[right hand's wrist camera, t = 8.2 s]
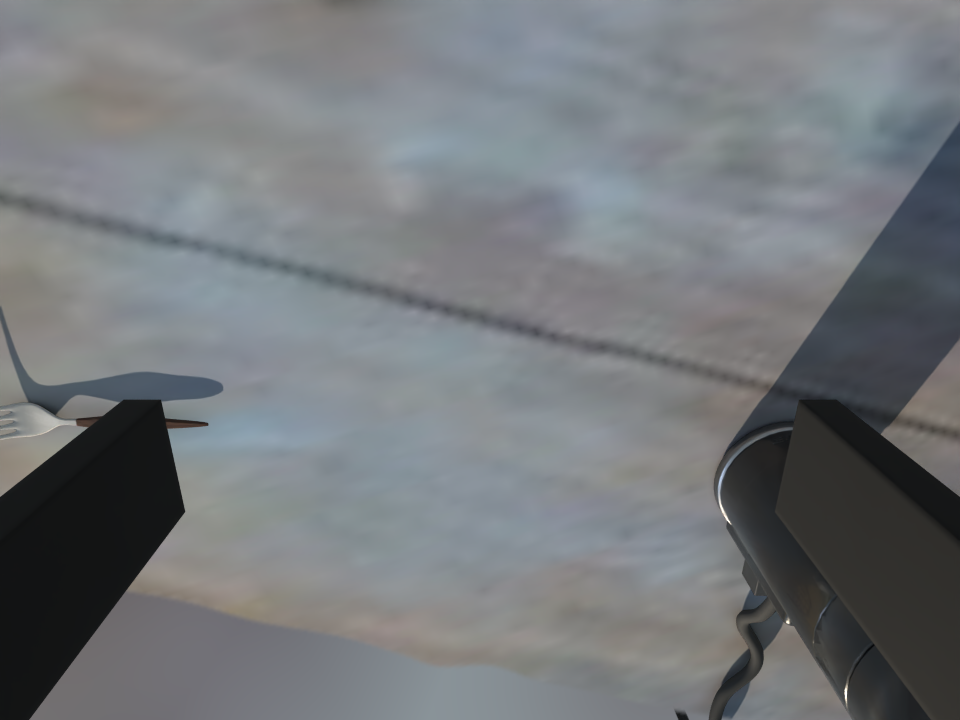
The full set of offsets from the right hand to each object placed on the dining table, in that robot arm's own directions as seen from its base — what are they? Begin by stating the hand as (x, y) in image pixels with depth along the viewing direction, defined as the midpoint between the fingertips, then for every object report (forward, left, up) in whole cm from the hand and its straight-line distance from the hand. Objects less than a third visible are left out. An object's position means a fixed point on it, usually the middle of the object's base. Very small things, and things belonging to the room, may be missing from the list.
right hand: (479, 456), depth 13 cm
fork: (+7, -29, -27) cm, 40 cm away
